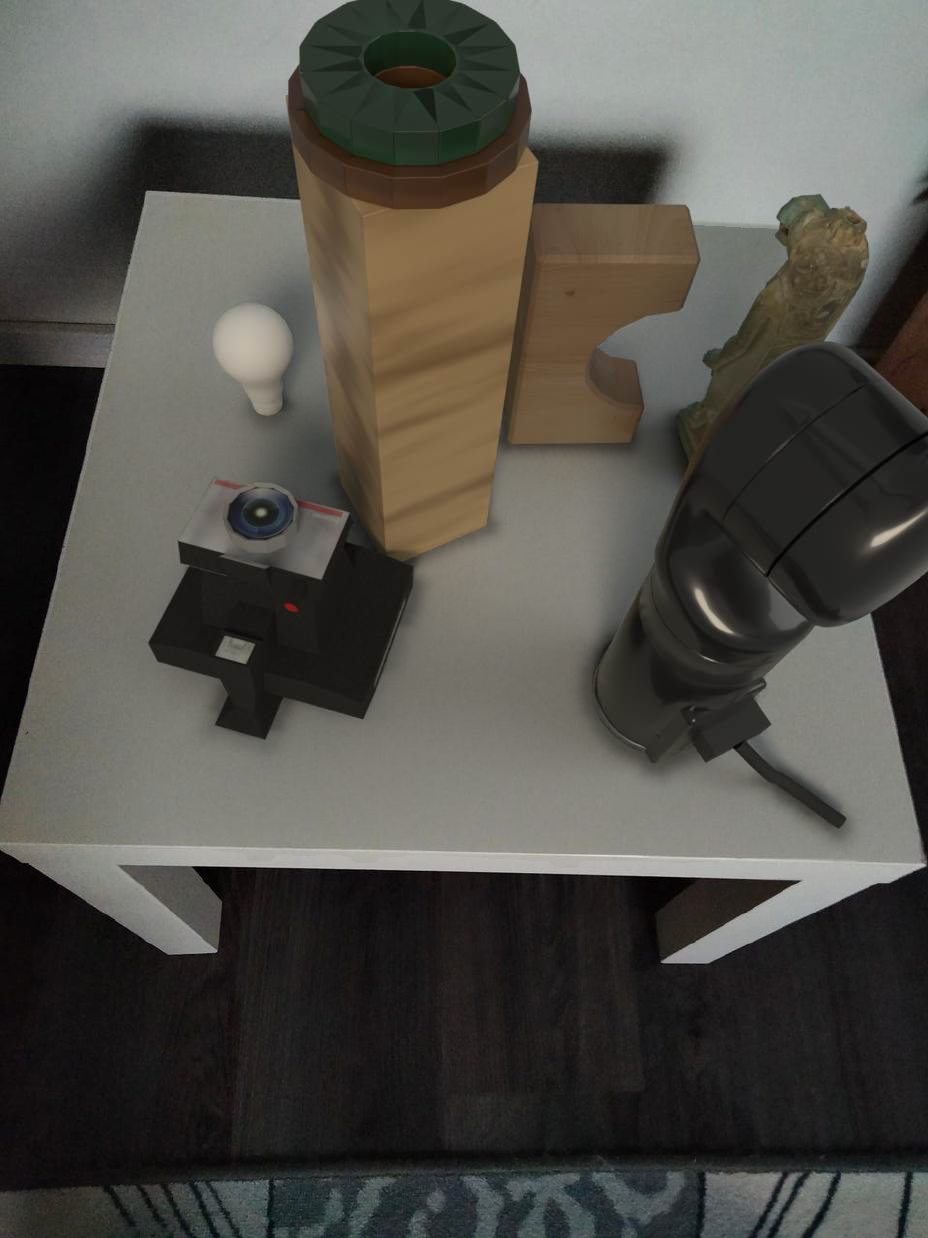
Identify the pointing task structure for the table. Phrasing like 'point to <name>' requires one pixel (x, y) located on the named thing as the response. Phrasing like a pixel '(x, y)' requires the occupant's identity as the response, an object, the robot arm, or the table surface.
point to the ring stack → (414, 252)
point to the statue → (787, 303)
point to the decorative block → (591, 316)
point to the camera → (280, 605)
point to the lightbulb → (255, 352)
